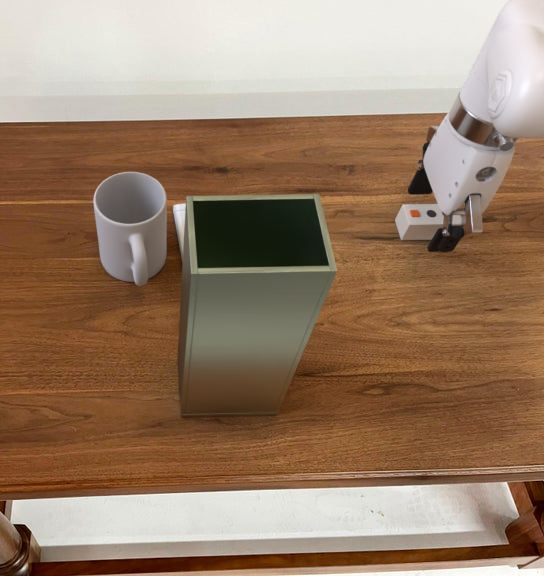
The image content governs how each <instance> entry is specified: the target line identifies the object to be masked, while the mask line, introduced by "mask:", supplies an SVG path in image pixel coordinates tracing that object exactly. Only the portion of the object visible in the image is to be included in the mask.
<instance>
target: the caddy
mask: <svg viewBox="0 0 544 576" xmlns="http://www.w3.org/2000/svg"><path fill="white" fill-rule="evenodd" d="M185 203H186V209H185V227H184V246H183V263H182V267H181V268H182V269H181V284H180V304H179V324H178V342H177V370H178V371H177V372H178V376H177V377H178V395H179V397H178V399H179V417H180V418H203V417H204V418H206V417H207V418H208V417H213V418H214V417H250V416H251V417H253V416H254V417H257V416H278V414H279V411H280V409H281V406H282V404H283V403H284V402H283V401H284V399H285V397H286V394H287V392H288V390H289V388H290V385H291V382H292V380H293V377H294V376H295V373H296V371H297V368H298V366H299V363H300V361H301V358H302V356H303V354H304V352H305V349H306V347H307V345H308V342H309V340H310V337H311V335H312V333H313V330H314V328H315V325H316V323H317V321H318V318H319V315H320V313H321V312H322V308H323V306H324V304H325V301H326V299H327V298H328V294H329V292H330V289H331V288H332V285H333V282H334V280H335V278H336V276H337V273H338V268H337V264H336V259H335V254H334V251H333V246H332V242H331V238H330V234H329V228H328V224H327V221H326V217H325V212H324V208H323V207H324V206H323V204H322V199H321V195H320V193H299V194H297V193H293V194H288V193H287V194H236V195H233V194H232V195H231V194H230V195H228V194H227V195H186V196H185Z"/></svg>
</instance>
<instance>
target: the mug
mask: <svg viewBox="0 0 544 576" xmlns="http://www.w3.org/2000/svg"><path fill="white" fill-rule="evenodd" d="M167 207H168V198H167V192H166V190H165V188H164V186H163V185H162V184H161V182H159V180H157V179H156V178H154V177H153V176H151V175H149V174H147V173H144V172H138V171H123V172H119V173H116V174H113V175H111V176H108V177H107V178H105V179H104V180H103V181H102V182H100V184H99V185H98V186H97V188H96V189H95V192H94V195H93V211H94V219H95V226H96V227H95V228H96V233H97V240H98V251H99V258H100V259H99V260H100V263H101V265H102V267H103V269H104V270H105V271H106V273H108V275H110V276H111V277H112V278H115V279H117V280H119V281H123V282H127V283H134V284H135V285H136V286H138V287H144V286H146V285H147V283H148V280H149V279H151V278H152V277H155V276H156V275H158V274H159V272H161V270H162V269H163V267H164V265H165V263H166V261H167V255H168V254H167V249H168V248H167V247H168V246H167V231H168V230H167V229H168V228H167V227H168V226H167V225H168V224H167V223H168V222H167V220H168V213H167V212H168V208H167Z"/></svg>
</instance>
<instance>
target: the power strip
mask: <svg viewBox="0 0 544 576" xmlns="http://www.w3.org/2000/svg"><path fill="white" fill-rule="evenodd" d="M443 219H444V213H443V212H442V211H441V209H440V208H439V206H438V203H407V204H406V203H403V204H402V205H401V206H400V209H399V210H398V213H397V215H396V217H395V219H394V222H395V225H396V228H397V231H398V232H397V233H398V235H399V238H400V240H401V241H431V240H432V238H433V236H434V235H435V233H436V231H437V230H438V229H439V228H443ZM461 221H462V215H453V221H452V225H461Z"/></svg>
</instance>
